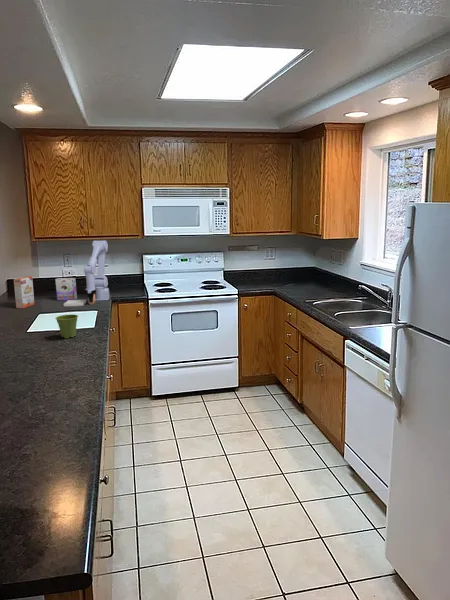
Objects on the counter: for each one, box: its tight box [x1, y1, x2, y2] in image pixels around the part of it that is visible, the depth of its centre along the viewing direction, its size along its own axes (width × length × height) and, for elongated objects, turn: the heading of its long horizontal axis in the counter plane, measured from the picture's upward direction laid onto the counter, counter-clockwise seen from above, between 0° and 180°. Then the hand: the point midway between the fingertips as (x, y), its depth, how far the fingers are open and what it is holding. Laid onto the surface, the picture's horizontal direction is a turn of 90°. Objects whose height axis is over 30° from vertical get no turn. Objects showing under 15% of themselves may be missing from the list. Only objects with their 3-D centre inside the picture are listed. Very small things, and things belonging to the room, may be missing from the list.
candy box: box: [54, 277, 78, 302], centre depth 367 cm, size 14×6×16 cm, turn 84°
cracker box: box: [13, 275, 35, 310], centre depth 346 cm, size 14×6×21 cm, turn 168°
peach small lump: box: [87, 293, 97, 306], centre depth 352 cm, size 5×5×7 cm
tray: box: [63, 299, 87, 307], centre depth 352 cm, size 13×13×2 cm
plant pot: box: [54, 314, 79, 339], centre depth 266 cm, size 12×12×11 cm
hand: (92, 301), depth 352 cm, fingers closed on peach small lump, 5 cm apart
